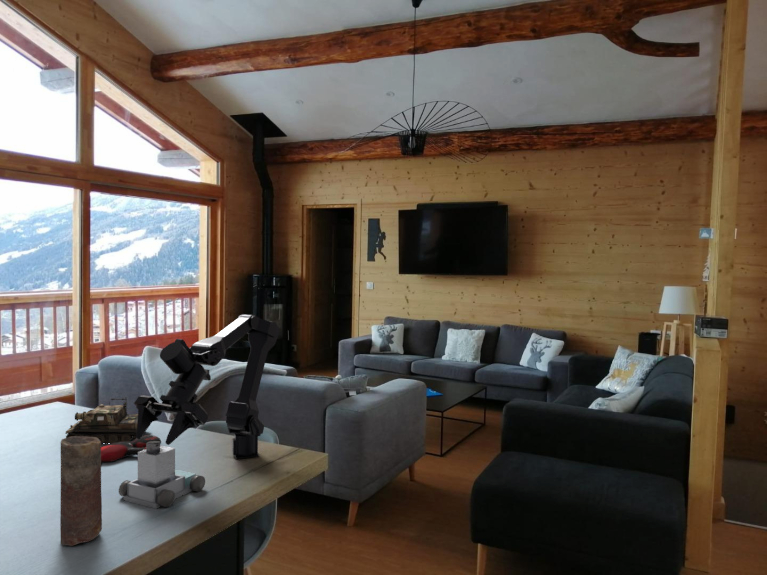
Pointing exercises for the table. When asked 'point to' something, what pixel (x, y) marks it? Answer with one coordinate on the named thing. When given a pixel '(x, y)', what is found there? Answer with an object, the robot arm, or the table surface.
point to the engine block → (156, 465)
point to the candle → (80, 490)
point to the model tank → (106, 424)
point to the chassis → (161, 490)
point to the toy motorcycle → (125, 448)
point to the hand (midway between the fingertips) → (151, 441)
